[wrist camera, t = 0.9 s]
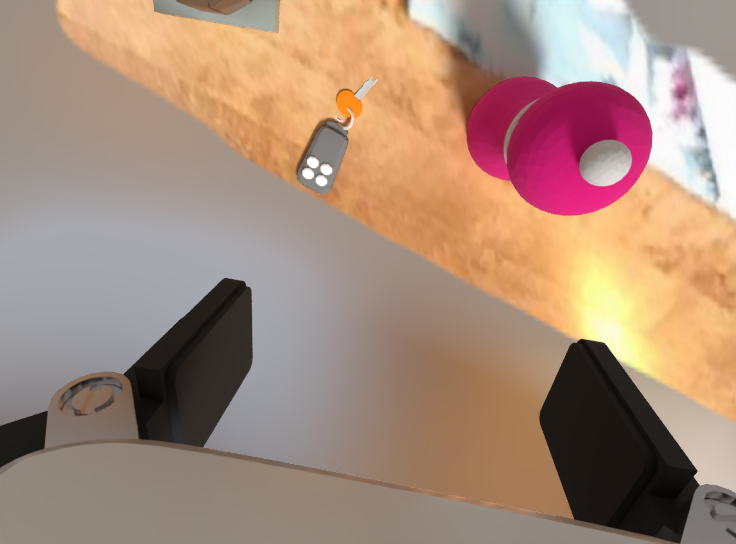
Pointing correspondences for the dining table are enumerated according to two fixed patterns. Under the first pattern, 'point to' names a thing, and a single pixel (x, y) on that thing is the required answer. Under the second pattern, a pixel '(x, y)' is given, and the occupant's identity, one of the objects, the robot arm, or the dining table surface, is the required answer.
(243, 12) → the collar
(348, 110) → the key chain
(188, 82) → the dining table surface
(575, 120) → the pepper mill
